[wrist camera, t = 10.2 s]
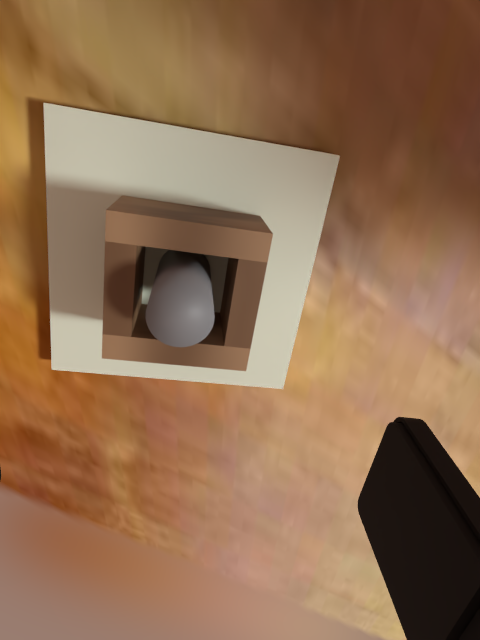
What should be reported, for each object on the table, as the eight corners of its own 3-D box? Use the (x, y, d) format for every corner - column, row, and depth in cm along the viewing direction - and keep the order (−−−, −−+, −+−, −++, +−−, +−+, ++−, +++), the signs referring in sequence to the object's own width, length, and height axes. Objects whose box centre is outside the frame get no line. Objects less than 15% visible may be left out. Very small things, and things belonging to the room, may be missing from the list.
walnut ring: (260, 216, 21) (273, 233, 18) (238, 335, 24) (245, 371, 20) (121, 195, 20) (105, 209, 17) (116, 322, 23) (101, 358, 19)
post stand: (334, 154, 21) (392, 165, 15) (280, 380, 27) (305, 457, 21) (50, 103, 19) (-21, 91, 13) (56, 360, 25) (9, 440, 18)
